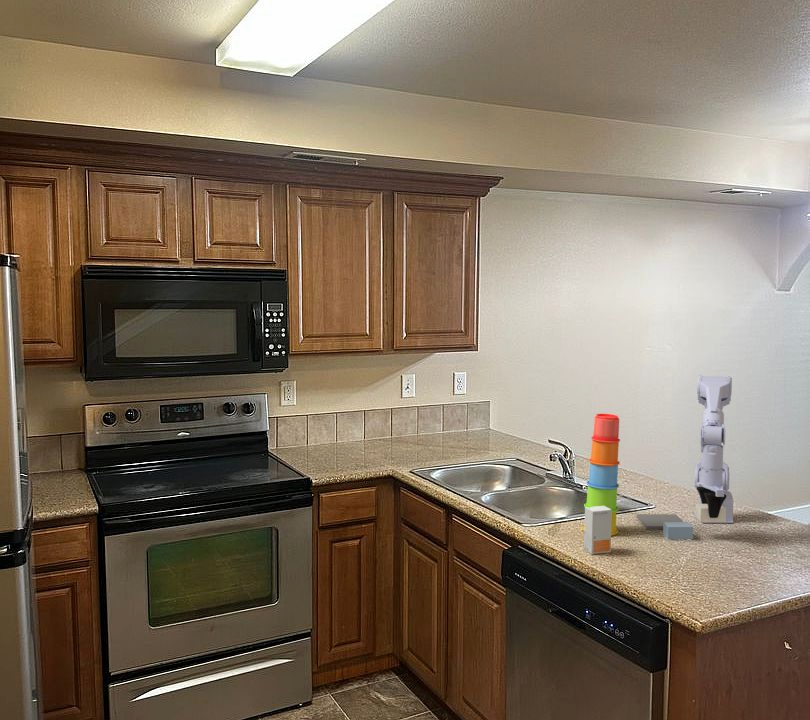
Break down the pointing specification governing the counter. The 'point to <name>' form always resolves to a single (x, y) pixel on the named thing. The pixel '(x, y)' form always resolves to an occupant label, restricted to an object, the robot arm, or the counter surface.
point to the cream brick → (703, 514)
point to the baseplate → (656, 520)
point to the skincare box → (597, 529)
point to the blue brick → (677, 530)
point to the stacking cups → (604, 466)
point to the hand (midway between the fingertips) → (710, 514)
